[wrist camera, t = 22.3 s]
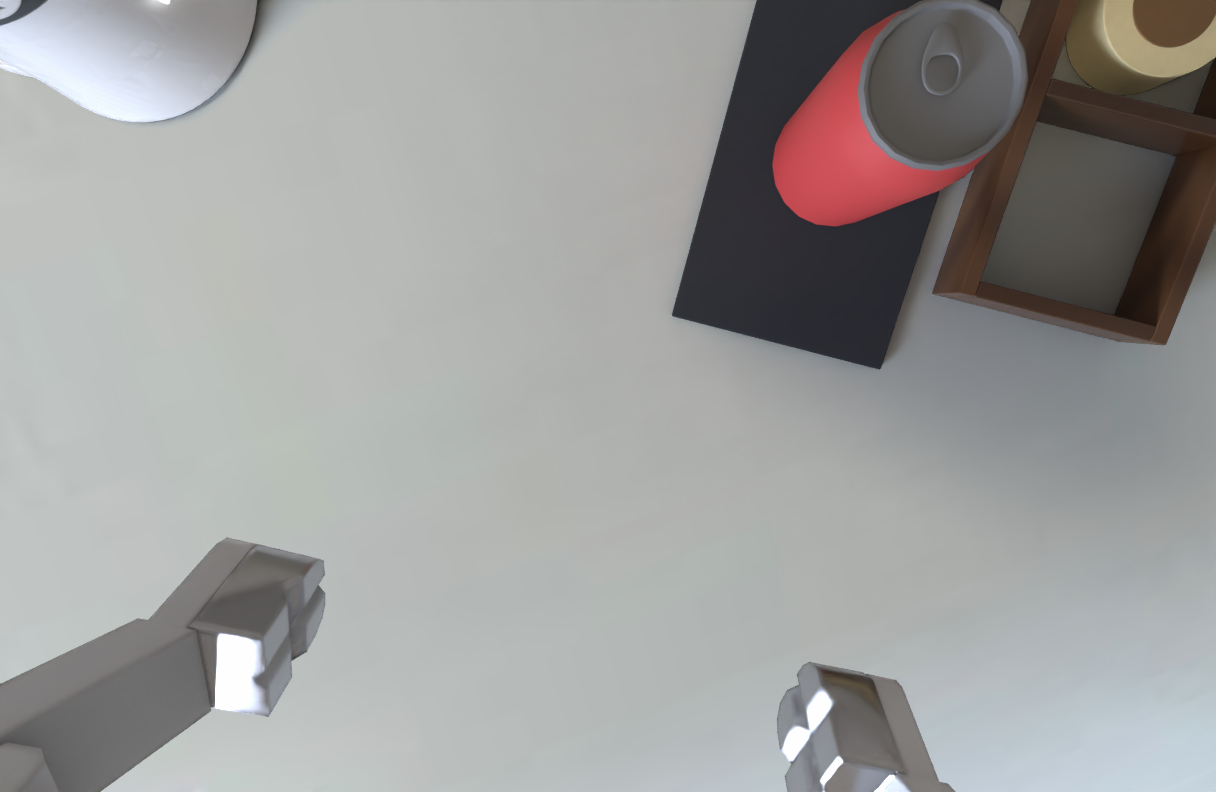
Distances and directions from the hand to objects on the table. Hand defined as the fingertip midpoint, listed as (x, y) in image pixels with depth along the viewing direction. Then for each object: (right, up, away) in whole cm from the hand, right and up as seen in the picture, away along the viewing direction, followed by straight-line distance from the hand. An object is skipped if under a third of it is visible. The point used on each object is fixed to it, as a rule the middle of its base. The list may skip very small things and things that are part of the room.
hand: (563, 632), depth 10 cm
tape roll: (+27, +23, +21) cm, 41 cm away
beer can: (+13, +16, +22) cm, 30 cm away
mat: (+13, +17, +22) cm, 31 cm away
